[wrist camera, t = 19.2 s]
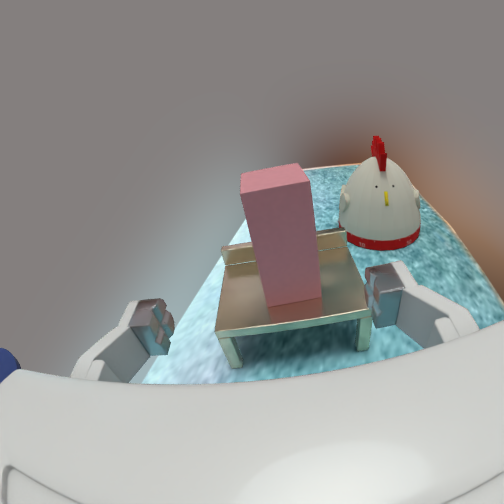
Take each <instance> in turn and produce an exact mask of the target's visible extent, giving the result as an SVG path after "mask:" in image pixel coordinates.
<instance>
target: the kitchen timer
mask: <svg viewBox="0 0 504 504" xmlns="http://www.w3.org/2000/svg"><path fill="white" fill-rule="evenodd" d="M371 151H372V157H371V158H369V159H367V160H365V161H364V162H363V163H361V164H360V165H359V166H358V167H357V168H356V170H355V171H354V172H353V173H352V175H351V177H350V178H349V180H348V182H347V184H346V185H342V189H341V194H340V204H339V210H340V211H339V228H340V227H345V229H346V231H347V241H349V242H351V243H352V244H354V245H356V246H359V247H363V248H366V249H373V250H394V249H399V248H403V247H405V246H407V245H409V244H411V243H413V242H414V241H415V240H416V239H417V238H418V235H419V232H420V222H421V220H420V211H419V209H420V200H419V191H418V190H415V189H414V187H413V186H412V184H411V182H410V181H409V179H408V177H407V176H406V174H405V173H404V172H403V170H402V169H401V168H400V167H399V166H398V165H397V164H395V163H394V162H393V161H391V160H390V159H388V158H387V153H385V150H384V142H382V141H381V138H379V136H373V141H372V146H371Z"/></svg>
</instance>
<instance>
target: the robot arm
mask: <svg viewBox="0 0 504 504" xmlns="http://www.w3.org/2000/svg"><path fill="white" fill-rule="evenodd" d="M365 278H366V280H367V282H366V284H365V285H364V294H365V301H366V304H367V307H368V309H370V310H372V312H371V317H372V320H373V323H374V325H375V328H376V329H377V328H382V327H387V326H392V325H396V326H397V327H398V328H399V329H401V330H402V331H403V332H404V333H406V334H407V335H408V336H409V337H411V338H412V339H413V340H414V341H416V342H417V343H418V344H419V345H420V346H422V347H423V348H424V349H422V350H419V351H415V352H412V353H408V354H405V355H401V356H397V357H393V358H389V359H385V360H381V361H377V362H372V363H368V364H363V365H359V366H354V367H349V368H344V369H339V370H333V371H327V372H322V373H315V374H309V375H302V376H295V377H287V378H279V379H270V380H260V381H248V382H235V383H217V384H137V383H129V381H130V380H131V379H132V378H133V377H134V375H135V374H136V373H137V372H138V371H139V370H140V368H141V367H142V366H143V365H144V364H145V362H146V361H147V360H148V358H150V356H155V355H168V351H169V347H170V344H171V342H170V340H169V338H170V337H171V336H172V335H173V333H174V320H173V317H172V315H171V313H170V312H168V311H167V310H165V309H166V306H167V305H166V303H165V302H164V300H163V299H160V298H159V299H148V300H139V301H131V302H129V303H128V306H127V308H126V310H125V312H124V314H123V316H122V318H121V320H120V322H119V324H118V327H117V328H113V329H112V330H111V331H110V332H109V333H107V334H106V335H105V336H104V337H103V338H101V339H100V340H99V341H98V342H97V343H96V344H94V345H93V346H92V347H91V348H90V349H89V350H87V351H86V352H85V353H84V354H83V355H82V356H80V357H79V359H78V361H77V363H76V365H75V367H74V369H73V371H72V374H71V376H70V377H63V376H57V375H50V374H45V373H39V372H33V371H29V370H23V369H17V370H15V371H14V372H12V373H11V374H10V375H9V376H8V377H7V378H5V379H4V380H3V381H2V382H1V383H0V504H504V320H503V321H500V322H498V323H495V324H493V325H491V326H488V327H486V328H483V329H481V330H480V329H479V327H478V325H477V324H476V322H475V320H474V319H473V317H472V316H471V314H470V312H469V311H468V309H466V308H465V307H463V306H461V305H459V304H457V303H455V302H453V301H451V300H450V299H448V298H446V297H444V296H442V295H440V294H438V293H436V292H434V291H432V290H430V289H429V288H427V287H425V286H423V285H419V286H418V284H417V283H416V281H415V279H414V278H413V276H412V275H411V273H410V272H409V270H408V269H407V267H406V266H405V264H404V263H403V261H401V260H400V261H396V262H391V263H388V264H383V265H378V266H373V267H367V268H366V269H365Z"/></svg>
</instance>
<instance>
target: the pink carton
mask: <svg viewBox="0 0 504 504" xmlns="http://www.w3.org/2000/svg"><path fill="white" fill-rule="evenodd" d="M240 187H241V188H240V195H241V200H242V204H243V208H244V212H245V216H246V220H247V224H248V229H249V233H250V237H251V241H252V245H253V249H254V253H255V258H256V262H257V266H258V270H259V274H260V278H261V282H262V287H263V291H264V295H265V299H266V303H267V307H272V306H278V305H283V304H289V303H294V302H299V301H304V300H310V299H315V298H320V297H322V294H321V281H320V268H319V257H318V246H317V236H316V227H315V218H314V209H313V201H312V193H311V186H310V180H309V179H308V177H307V176H306V174H305V173H304V171H303V170H302V169H301V167H300V166H299V164H298V163H294V164H288V165H283V166H277V167H272V168H266V169H261V170H256V171H251V172H247V173H242V174H241V185H240Z"/></svg>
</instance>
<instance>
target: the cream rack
mask: <svg viewBox="0 0 504 504" xmlns="http://www.w3.org/2000/svg"><path fill="white" fill-rule="evenodd" d="M316 236H317V246H318V257H319V268H320V281H321V294H322V297H320V298H315V299H310V300H304V301H299V302H294V303H289V304H283V305H278V306H272V307H267V303H266V299H265V295H264V291H263V287H262V282H261V278H260V274H259V270H258V266H257V262H256V258H255V253H254V249H253V245H252V242H247V243H241V244H235V245H229V246H223V247H222V249H221V253H222V256H223V260H224V263H225V265H228V266H225V271H224V277H223V283H222V289H221V295H220V301H219V307H218V313H217V319H216V325H215V334H216V336H217V338H218V340H219V343H220V345H221V347H222V349H223V351H224V353H225V356H226V358H227V360H228V362H229V364H230V366H231V368H232V369H234V368H243V357H242V355H241V352H240V350H239V347H238V345H237V342H236V340H235V337H237V336H247V335H256V334H264V333H272V332H280V331H287V330H294V329H301V328H307V327H314V326H320V325H326V324H332V323H337V322H343V321H348V320H353V319H357V325H356V338H355V345H356V348H357V351H363V350H368V349H369V342H370V335H371V327H372V317H371V312H372V310H370V309H368V307H367V304H366V301H365V294H364V283H363V281H362V278H361V276H360V274H359V272H358V269H357V267H356V265H355V263H354V260H353V258H352V256H351V254H350V251H349V249H348V247H344V246H347V231H346V229H345V227H340V228H333V229H327V230H321V231H316ZM338 247H341V248H338ZM331 248H335V249H331ZM325 249H329V250H325ZM319 250H323V251H319ZM250 261H254V262H250ZM244 262H248V263H244ZM237 263H241V264H237ZM231 264H235V265H231Z"/></svg>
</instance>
